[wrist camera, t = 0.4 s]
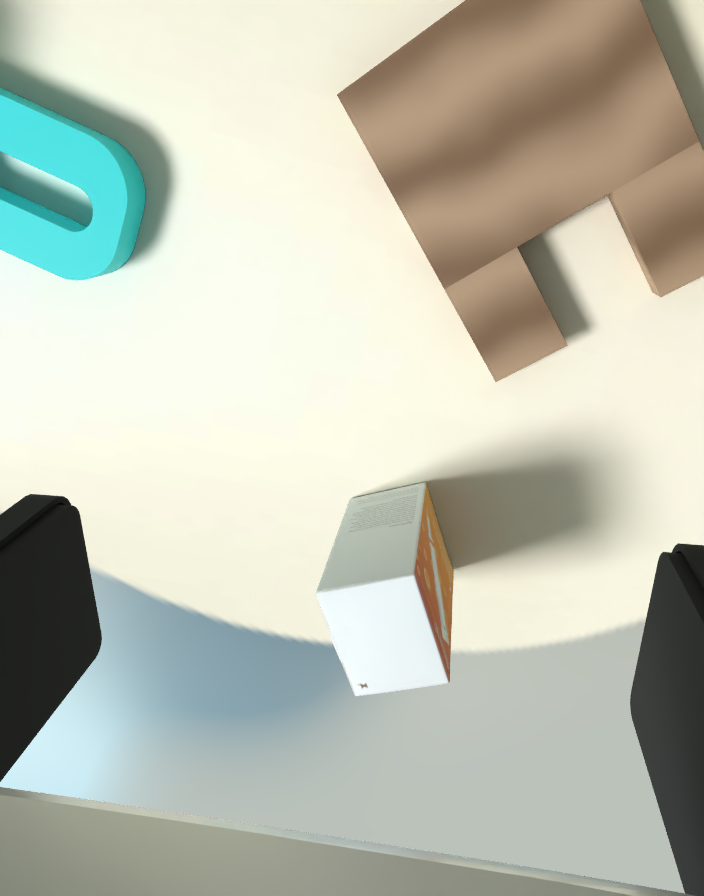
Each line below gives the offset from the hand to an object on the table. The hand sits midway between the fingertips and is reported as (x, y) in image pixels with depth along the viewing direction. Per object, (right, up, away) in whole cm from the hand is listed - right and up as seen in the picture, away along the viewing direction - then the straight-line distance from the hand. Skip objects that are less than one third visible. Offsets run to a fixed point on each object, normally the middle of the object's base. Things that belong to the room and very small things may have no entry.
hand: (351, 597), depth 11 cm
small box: (+4, -4, +41) cm, 41 cm away
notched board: (+11, +19, +30) cm, 37 cm away
